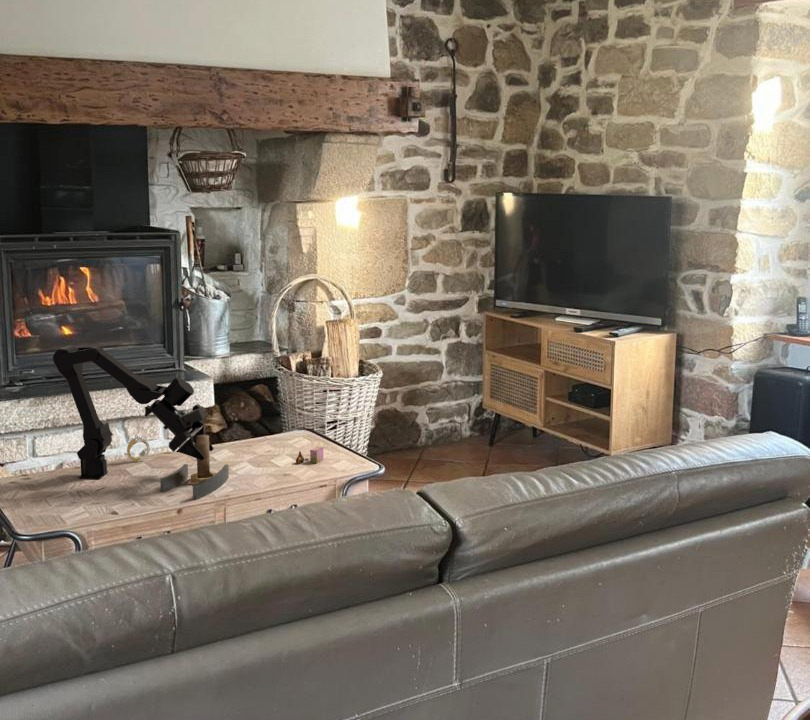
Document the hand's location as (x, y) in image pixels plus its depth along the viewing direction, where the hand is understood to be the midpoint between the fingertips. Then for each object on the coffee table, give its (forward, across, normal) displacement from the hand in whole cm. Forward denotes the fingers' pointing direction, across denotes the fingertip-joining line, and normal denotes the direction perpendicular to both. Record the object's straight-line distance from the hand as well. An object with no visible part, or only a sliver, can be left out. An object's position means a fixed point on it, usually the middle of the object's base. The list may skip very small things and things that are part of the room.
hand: (208, 454), depth 283 cm
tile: (+5, 0, +7) cm, 8 cm away
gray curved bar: (+4, -7, +8) cm, 11 cm away
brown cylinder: (+4, 0, +6) cm, 8 cm away
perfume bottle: (+25, +21, -13) cm, 35 cm away
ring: (-13, +16, +25) cm, 32 cm away
